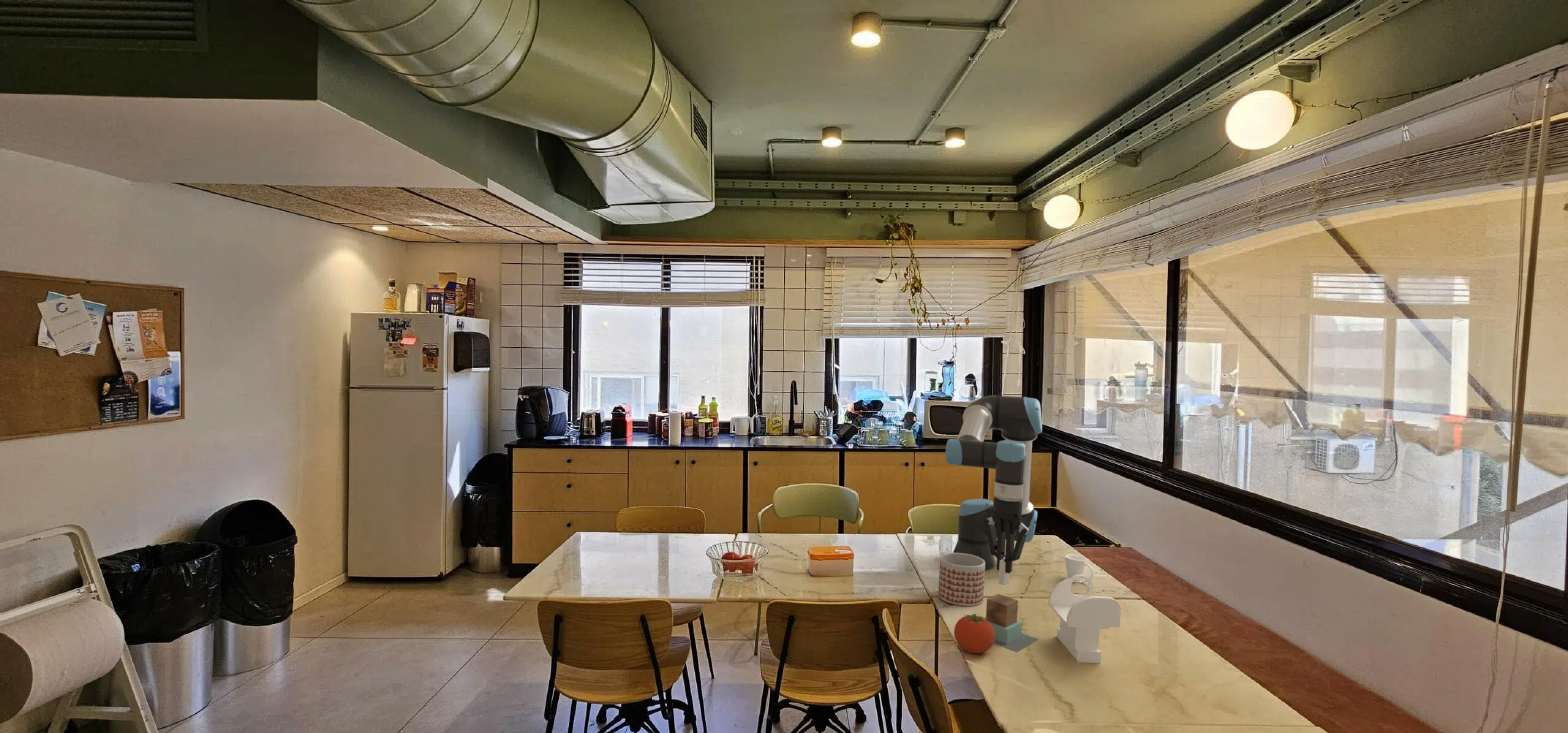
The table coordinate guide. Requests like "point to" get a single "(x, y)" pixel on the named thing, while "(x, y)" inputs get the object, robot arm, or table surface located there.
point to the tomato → (974, 634)
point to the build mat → (1018, 643)
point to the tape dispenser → (1083, 618)
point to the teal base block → (1007, 632)
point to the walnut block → (1001, 610)
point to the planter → (961, 579)
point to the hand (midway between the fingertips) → (1003, 583)
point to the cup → (1076, 566)
